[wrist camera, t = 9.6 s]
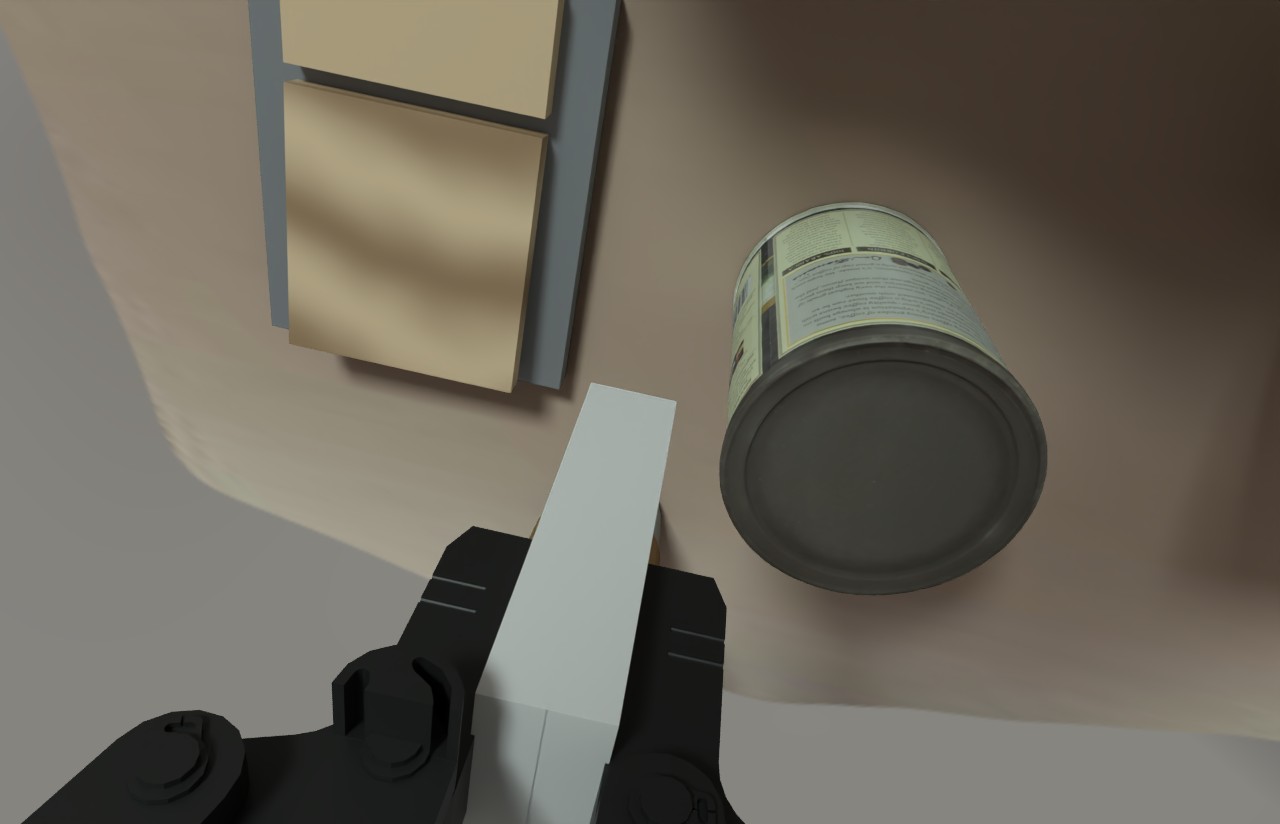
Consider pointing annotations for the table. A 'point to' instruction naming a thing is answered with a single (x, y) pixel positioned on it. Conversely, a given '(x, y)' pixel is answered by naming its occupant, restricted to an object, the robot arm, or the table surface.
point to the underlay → (456, 112)
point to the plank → (409, 233)
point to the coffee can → (870, 410)
